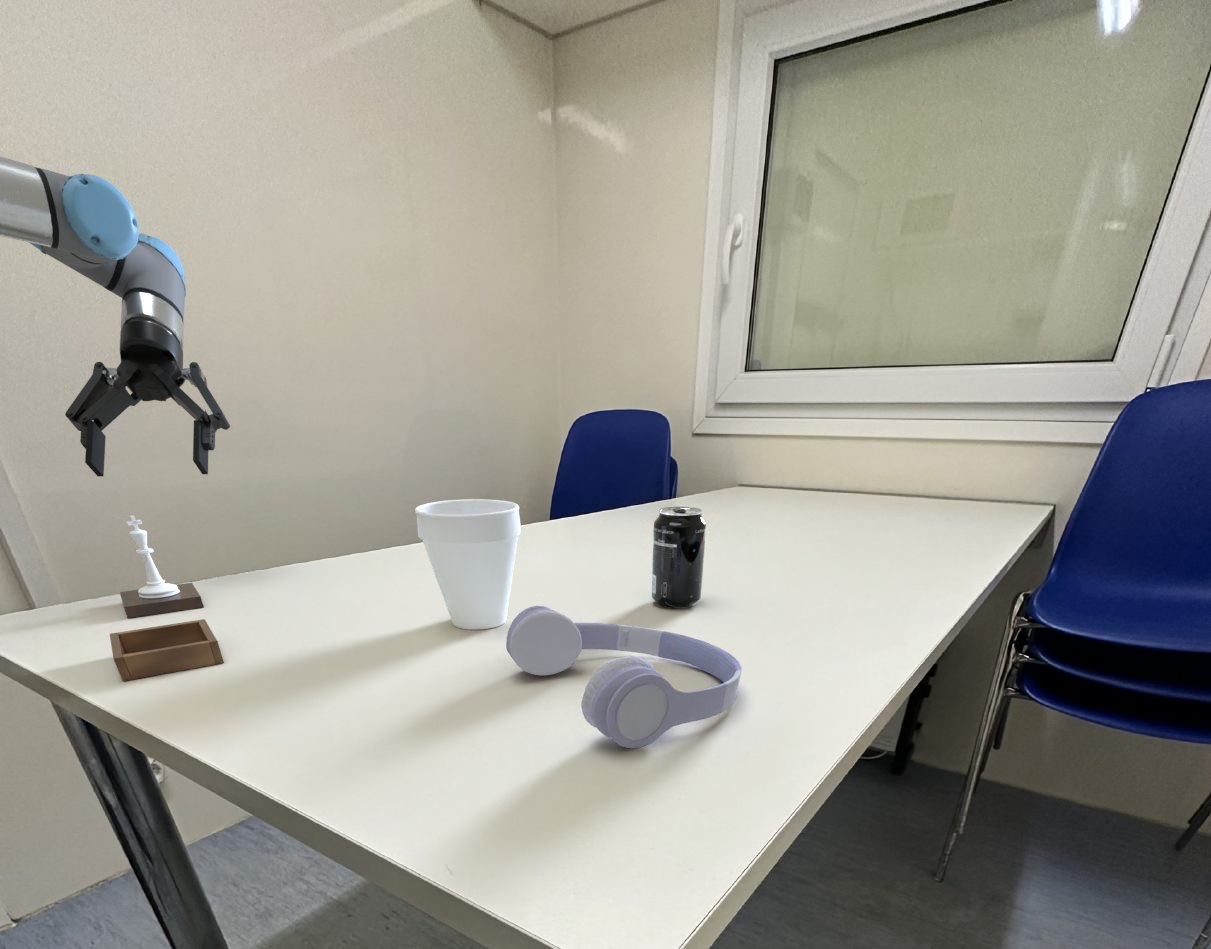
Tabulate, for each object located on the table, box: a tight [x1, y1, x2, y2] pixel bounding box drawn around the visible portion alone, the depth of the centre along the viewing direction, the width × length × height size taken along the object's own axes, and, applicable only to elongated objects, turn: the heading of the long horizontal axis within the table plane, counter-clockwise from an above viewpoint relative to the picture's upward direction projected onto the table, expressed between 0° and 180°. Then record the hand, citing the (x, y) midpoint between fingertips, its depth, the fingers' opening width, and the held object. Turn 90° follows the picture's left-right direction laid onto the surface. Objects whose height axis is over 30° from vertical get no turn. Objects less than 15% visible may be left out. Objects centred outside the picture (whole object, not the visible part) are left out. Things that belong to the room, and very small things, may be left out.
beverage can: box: [651, 506, 707, 609], centre depth 90 cm, size 7×7×12 cm
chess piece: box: [125, 515, 180, 599], centre depth 90 cm, size 5×5×10 cm
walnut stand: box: [119, 582, 205, 619], centre depth 93 cm, size 9×9×2 cm
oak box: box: [109, 618, 225, 682], centre depth 74 cm, size 10×10×2 cm
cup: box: [414, 498, 522, 631], centre depth 83 cm, size 12×12×14 cm
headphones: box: [505, 605, 743, 749], centre depth 65 cm, size 22×7×20 cm
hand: (148, 468), depth 92 cm, fingers open, 13 cm apart
